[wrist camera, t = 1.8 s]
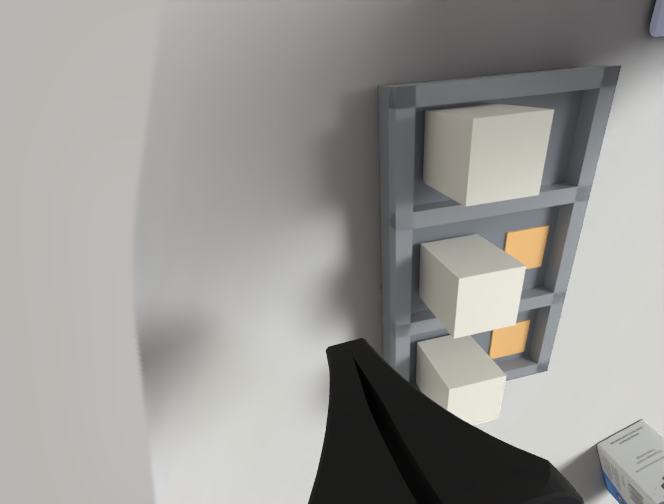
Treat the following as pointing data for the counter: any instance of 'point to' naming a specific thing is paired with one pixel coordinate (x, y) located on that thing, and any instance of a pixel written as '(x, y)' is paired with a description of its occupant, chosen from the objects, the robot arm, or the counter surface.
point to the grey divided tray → (489, 208)
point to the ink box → (634, 464)
